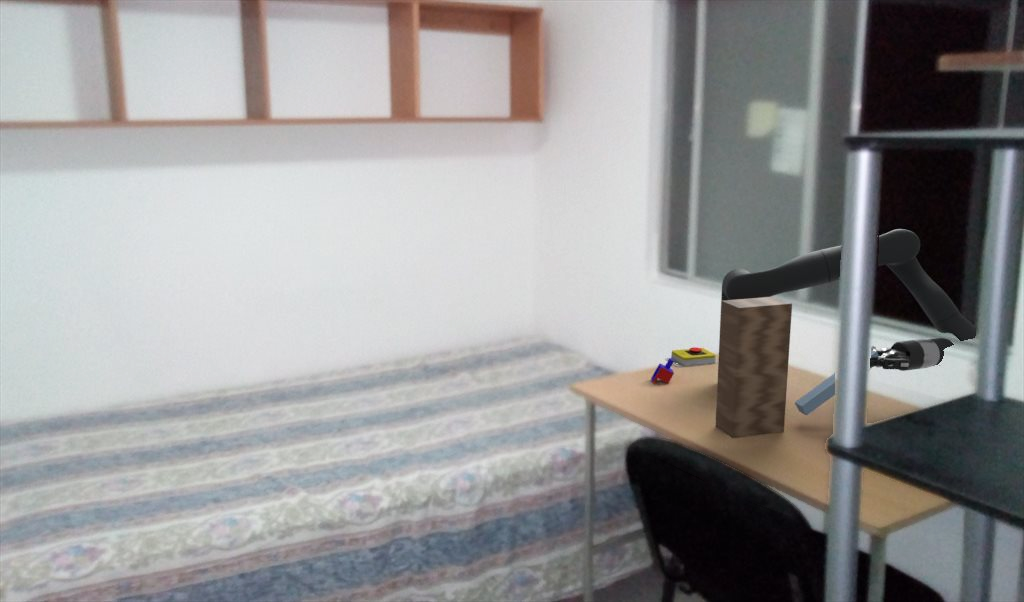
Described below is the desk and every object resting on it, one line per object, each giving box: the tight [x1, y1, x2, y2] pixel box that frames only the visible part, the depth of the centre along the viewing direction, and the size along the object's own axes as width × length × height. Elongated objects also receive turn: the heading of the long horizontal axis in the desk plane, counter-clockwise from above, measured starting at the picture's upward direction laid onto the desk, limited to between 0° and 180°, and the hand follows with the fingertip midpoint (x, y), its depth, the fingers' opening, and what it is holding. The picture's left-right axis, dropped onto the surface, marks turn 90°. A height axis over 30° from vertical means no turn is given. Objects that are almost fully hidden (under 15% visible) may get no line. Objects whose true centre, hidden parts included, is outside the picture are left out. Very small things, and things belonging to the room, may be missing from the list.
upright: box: [715, 296, 793, 439], centre depth 194 cm, size 14×8×32 cm, turn 105°
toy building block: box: [650, 357, 675, 384], centre depth 233 cm, size 4×4×8 cm
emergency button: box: [664, 346, 719, 368], centre depth 253 cm, size 9×4×15 cm
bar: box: [794, 349, 879, 416], centre depth 201 cm, size 24×3×3 cm
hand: (857, 361), depth 202 cm, fingers closed on bar, 3 cm apart
